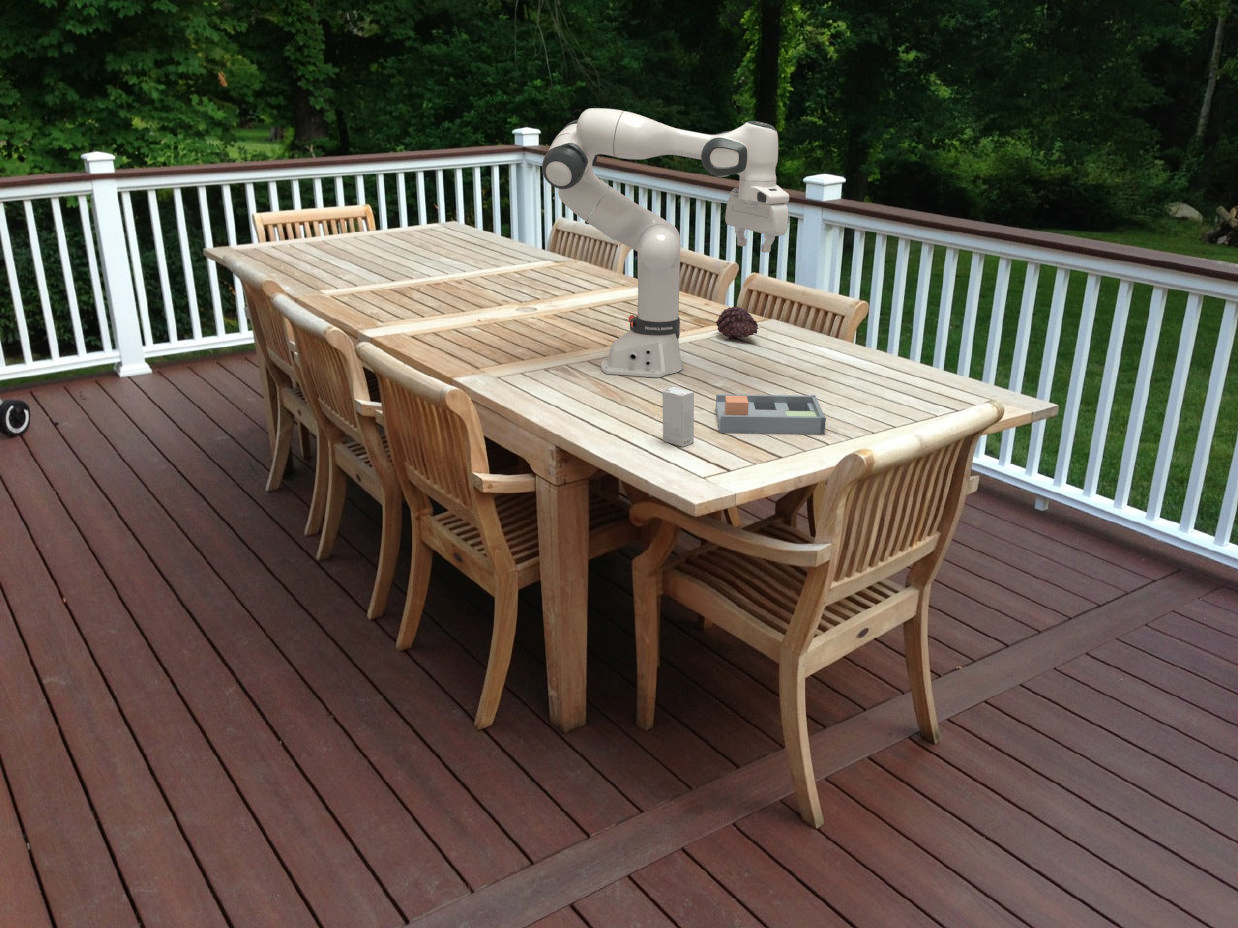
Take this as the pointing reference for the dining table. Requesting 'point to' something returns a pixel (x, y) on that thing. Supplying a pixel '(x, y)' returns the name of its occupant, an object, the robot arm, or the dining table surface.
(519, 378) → the dining table surface
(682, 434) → the skincare box
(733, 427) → the box
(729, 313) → the pine cone
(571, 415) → the dining table surface
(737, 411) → the block
